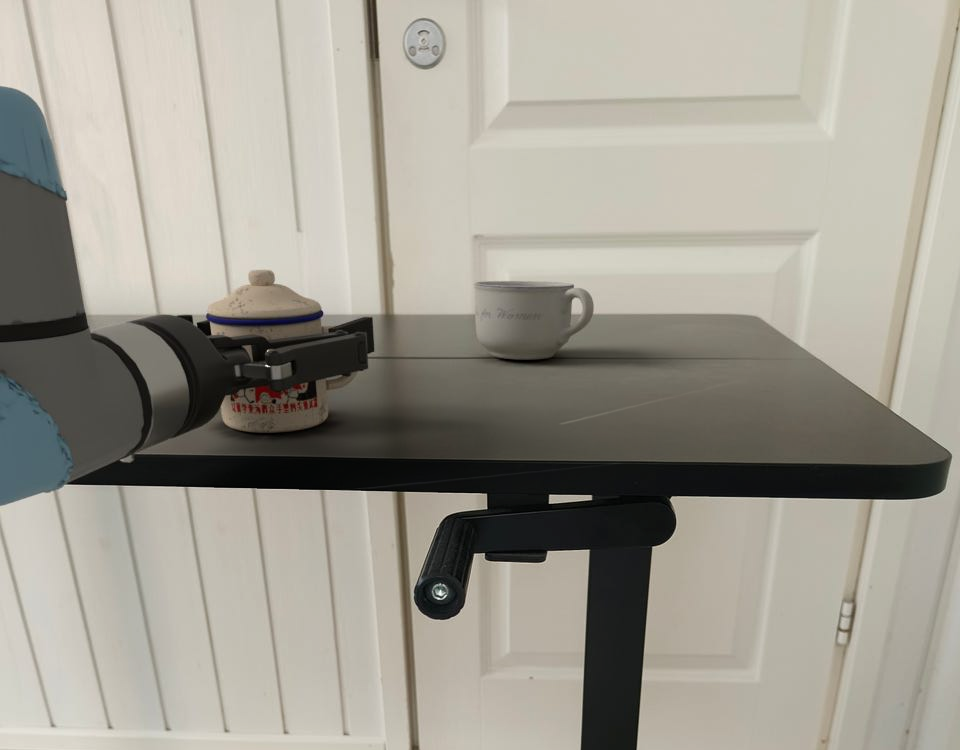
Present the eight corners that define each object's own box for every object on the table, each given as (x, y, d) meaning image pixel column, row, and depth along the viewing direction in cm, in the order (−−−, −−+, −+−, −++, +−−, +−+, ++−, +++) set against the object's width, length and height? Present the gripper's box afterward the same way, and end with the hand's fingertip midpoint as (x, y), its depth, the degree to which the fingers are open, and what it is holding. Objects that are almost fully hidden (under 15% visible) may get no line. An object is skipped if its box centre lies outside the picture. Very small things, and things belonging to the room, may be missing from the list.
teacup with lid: (221, 438, 71) (200, 278, 66) (218, 411, 79) (199, 266, 74) (374, 427, 74) (365, 273, 69) (356, 403, 82) (348, 263, 76)
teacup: (455, 356, 102) (453, 280, 99) (524, 345, 109) (525, 273, 105) (543, 374, 93) (545, 291, 89) (613, 361, 99) (618, 282, 96)
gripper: (11, 428, 63) (193, 369, 82) (313, 455, 57) (437, 384, 75) (-17, 314, 60) (180, 280, 78) (301, 329, 53) (434, 287, 72)
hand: (306, 331), depth 77 cm, fingers closed on teacup with lid, 11 cm apart
